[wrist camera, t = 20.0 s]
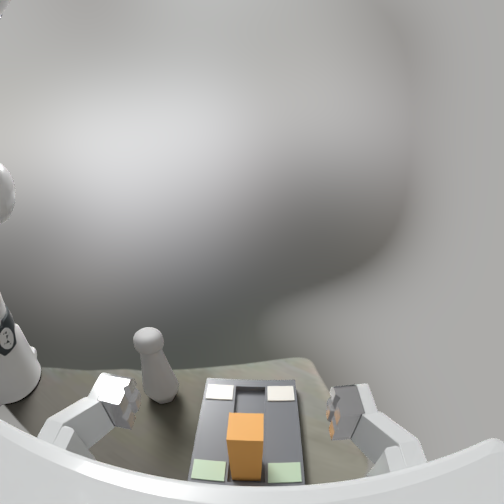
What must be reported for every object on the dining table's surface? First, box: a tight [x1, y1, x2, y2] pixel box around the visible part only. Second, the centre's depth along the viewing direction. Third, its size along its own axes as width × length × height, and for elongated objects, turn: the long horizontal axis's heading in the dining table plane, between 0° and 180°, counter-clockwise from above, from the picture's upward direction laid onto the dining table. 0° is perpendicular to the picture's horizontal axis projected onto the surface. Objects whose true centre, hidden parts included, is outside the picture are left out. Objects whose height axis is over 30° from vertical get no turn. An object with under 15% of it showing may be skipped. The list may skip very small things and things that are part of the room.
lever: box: [226, 412, 264, 481], centre depth 27 cm, size 4×4×11 cm
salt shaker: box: [133, 327, 179, 404], centre depth 40 cm, size 6×6×13 cm
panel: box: [188, 378, 305, 486], centre depth 35 cm, size 14×20×2 cm
